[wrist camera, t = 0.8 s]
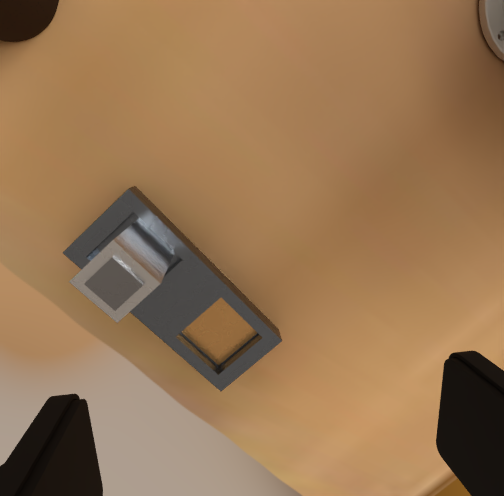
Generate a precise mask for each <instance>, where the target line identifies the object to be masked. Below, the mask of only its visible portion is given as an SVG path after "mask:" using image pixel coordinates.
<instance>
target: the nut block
mask: <svg viewBox="0 0 504 496" xmlns="http://www.w3.org/2000/svg"><path fill="white" fill-rule="evenodd" d="M173 256H174V255H173V254H172V253H171V252H170V251H169V250H168V249H167V248H166V247H165V246H164V245H163V244H162V243H161V242H160V241H159V240H158V239H157V238H156V237H155V236H154V235H153V234H152V233H151V232H150V231H148V230H147V229H146V228H145V227H144V226H143V225H142V224H141V223H140V222H139V221H138V220H136V221H135V222H134V223H133V224H132V225H130V226H129V227H128V228H127V229H126V230H124V231H123V232H122V233H121V234H120V235H118V236H117V237H116V238H115V239H113V240H112V241H111V242H110V243H109V244H108V245H107V246H106V247H105V248H104V249H103V250H102V251H101V252H100V253H99V254H98V255H97V256H96V257H94V258H93V259H92V260H91V261H90V262H89V263H88V264H87V265H86V266H85V267H84V268H83V269H82V270H81V271H80V272H79V273H78V274H77V275H76V276H74V277H73V278H72V279H71V280H70V281H69V282H70V283H71V284H72V285H73V286H74V287H76V288H77V289H78V290H79V291H80V292H82V293H83V294H84V295H85V296H86V297H87V298H89V299H90V300H91V301H92V302H93V303H94V304H96V305H97V306H98V307H99V308H100V309H101V310H103V311H104V312H105V313H106V314H107V315H108V316H110V317H111V318H112V319H113V320H114V321H115V322H117V323H118V322H119V321H120V320H121V319H122V318H123V317H124V316H126V315H127V314H128V313H129V312H130V311H131V310H132V309H133V308H134V307H135V306H137V305H138V304H139V303H140V302H141V301H142V300H143V299H144V298H145V297H146V296H148V295H149V294H150V293H151V292H152V291H153V290H154V289H155V288H156V287H158V286H159V285H160V284H161V282H162V279H163V277H164V275H165V273H166V271H167V269H168V267H169V264H170V262H171V260H172V258H173Z"/></svg>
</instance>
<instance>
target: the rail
mask: <svg viewBox="0 0 504 496" xmlns="http://www.w3.org/2000/svg"><path fill="white" fill-rule="evenodd" d="M136 220H138V221H139V222H140V223H141V224H142V225H143V226H144V227H145V228H146V229H147V230H148V231H150V232H151V233H152V234H153V235H154V236H155V237H156V238H157V239H158V240H159V241H160V242H161V243H162V244H163V245H164V246H165V247H166V248H167V249H168V250H169V251H170V252H171V253H172V254H173V255H174V256H173V258H172V260H171V262H170V264H169V267H168V269H167V271H166V273H165V275H164V277H163V279H162V282H161V284H160V285H159V286H158V287H156V288H155V289H154V290H153V291H152V292H151V293H150V294H149V295H148V296H146V297H145V298H144V299H143V300H142V301H141V302H140V303H139V304H138V305H137V306H135V307H134V308H133V309H132V310H131V311H130V312H131V313H132V314H133V315H134V316H135V317H137V318H138V319H139V320H140V321H141V322H142V323H143V324H145V325H146V326H147V327H148V328H149V329H150V330H151V331H153V332H154V333H155V334H156V335H157V336H158V337H159V338H160V339H162V340H163V341H164V342H165V343H166V344H167V345H168V346H170V347H171V348H172V349H173V350H174V351H175V352H176V353H178V354H179V355H180V356H181V357H182V358H183V359H184V360H186V361H187V362H188V363H189V364H190V365H191V366H192V367H194V368H195V369H196V370H197V371H198V372H199V373H200V374H202V375H203V376H204V377H205V378H206V379H207V380H208V381H210V382H211V383H212V384H213V385H214V386H215V387H216V388H218V389H219V390H220V391H222V390H223V389H225V388H226V387H227V386H228V385H229V384H231V383H232V382H233V381H234V380H235V379H237V378H238V377H239V376H240V375H241V374H243V373H244V372H245V371H246V370H247V369H249V368H250V367H251V366H252V365H254V364H255V363H256V362H257V361H258V360H260V359H261V358H262V357H263V356H264V355H266V354H267V353H268V352H269V351H270V350H272V349H273V348H274V347H275V346H276V345H278V344H279V343H280V342H281V341H282V339H281V336H280V332H279V329H278V328H277V327H276V326H275V325H274V324H273V323H272V322H271V321H270V320H269V319H268V318H267V317H266V316H265V315H264V314H263V313H262V312H261V311H260V310H259V309H258V308H257V307H256V306H255V305H254V304H253V303H252V302H251V301H250V300H249V299H248V298H247V297H246V296H245V295H244V294H243V293H242V292H241V291H240V290H239V289H238V288H237V287H236V286H235V285H234V284H233V283H232V282H231V281H230V280H229V279H228V278H227V277H226V276H225V275H224V274H223V273H222V272H221V271H220V270H219V269H218V268H217V267H216V266H215V265H214V264H213V263H212V262H211V261H210V260H209V259H208V258H207V257H206V256H205V255H204V254H203V253H202V252H201V251H200V250H199V249H198V248H197V247H196V246H195V245H194V244H193V243H192V242H191V241H190V240H189V239H188V238H187V237H186V236H185V235H184V234H183V233H182V232H181V231H180V230H179V229H178V228H177V227H176V226H175V225H174V224H173V223H172V222H171V221H170V220H169V219H168V218H167V217H166V216H165V215H164V214H163V213H162V212H161V211H160V210H159V209H158V208H157V207H156V206H155V205H154V204H153V203H152V202H151V201H150V200H149V199H148V198H147V197H146V196H145V195H144V194H143V193H142V192H141V191H140V190H139V189H138V188H137V187H136V186H134V187H132V188H129V189H128V190H127V191H126V192H125V193H124V194H123V195H122V196H121V197H120V198H119V199H118V200H117V201H115V202H114V203H113V204H112V205H111V206H110V207H109V208H108V209H107V210H106V211H105V212H104V213H103V214H102V215H101V216H100V217H99V218H98V219H97V220H96V221H95V222H94V223H93V224H92V225H91V226H90V227H89V228H88V229H87V230H86V231H85V232H84V233H82V234H81V235H80V236H79V237H78V238H77V239H76V240H75V241H74V242H73V243H72V244H71V245H70V246H69V247H68V248H67V249H66V250H65V251H64V252H63V254H65V255H66V256H67V257H68V258H69V259H70V260H71V261H73V262H74V263H75V264H76V265H77V266H78V267H79V268H81V269H83V268H84V267H85V266H86V265H87V264H88V263H89V262H90V261H91V260H92V259H93V258H94V257H96V256H97V255H98V254H99V253H100V252H101V251H102V250H103V249H104V248H105V247H106V246H107V245H108V244H109V243H110V242H111V241H112V240H113V239H115V238H116V237H117V236H118V235H120V234H121V233H122V232H123V231H124V230H126V229H127V228H128V227H129V226H130V225H132V224H133V223H134V222H135V221H136Z"/></svg>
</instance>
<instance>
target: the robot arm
mask: <svg viewBox="0 0 504 496" xmlns="http://www.w3.org/2000/svg"><path fill="white" fill-rule="evenodd" d="M479 15H480V24H481V27H482V31H483V34H484V37H485V39H486V41H487V43H488V45H489V47H490V48H491V49H492V50H493V52H494V53H495V54H496V55H497V56H498V57H499V58H500V59H502V60H503V61H504V0H479ZM436 445H437V449H438V451H439V454H440V455H441V457H442V458H443V460H444V461H445V462H446V464H447V465H448V466H449V467H450V469H451V470H452V471H453V472H454V474H455V475H456V476H457V478H458V479H459V480H460V481H461V483H462V484H463V485H464V487H465V488H466V489H467V490H468V492H469V493H470V494H471V496H504V371H503V370H502V369H500V368H499V367H498V366H496V365H495V364H493V363H492V362H491V361H489V360H488V359H487V358H485V357H484V356H482V355H481V354H480V353H478V352H476V351H466V352H456V353H452V354H451V355H450V356H449V359H447V360H446V361H445V363H444V371H443V380H442V390H441V399H440V409H439V419H438V428H437V438H436ZM0 496H103V487H102V481H101V476H100V470H99V465H98V459H97V454H96V448H95V443H94V437H93V432H92V427H91V422H90V416H89V411H88V405H87V402H86V400H85V399H79V396H78V395H77V394H69V395H59V396H52V397H50V398H49V399H48V400H47V401H46V403H45V404H44V406H43V407H42V409H41V410H40V412H39V413H38V415H37V416H36V418H35V419H34V420H33V422H32V423H31V425H30V427H29V428H28V429H27V431H26V432H25V434H24V435H23V437H22V438H21V440H20V441H19V443H18V444H17V446H16V447H15V449H14V450H13V452H12V453H11V455H10V456H9V458H8V459H7V461H6V462H5V463H4V464H3V465H1V466H0Z"/></svg>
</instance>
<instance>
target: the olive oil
mask: <svg viewBox="0 0 504 496" xmlns="http://www.w3.org/2000/svg"><path fill="white" fill-rule="evenodd" d="M57 5H58V0H0V40H1V41H10V42H14V41H22V40H26V39H29V38H32V37H34V36H36V35H37V34H39V33H40V32H41V31H42V30H44V29H45V28H46V26H47V25H48V24H49V23H50V21H51V20H52V18H53V16H54V14H55V11H56V8H57Z"/></svg>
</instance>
